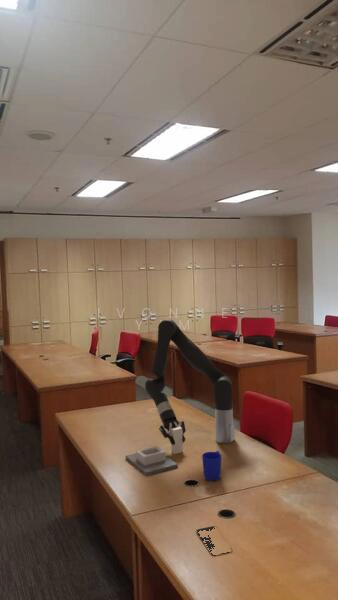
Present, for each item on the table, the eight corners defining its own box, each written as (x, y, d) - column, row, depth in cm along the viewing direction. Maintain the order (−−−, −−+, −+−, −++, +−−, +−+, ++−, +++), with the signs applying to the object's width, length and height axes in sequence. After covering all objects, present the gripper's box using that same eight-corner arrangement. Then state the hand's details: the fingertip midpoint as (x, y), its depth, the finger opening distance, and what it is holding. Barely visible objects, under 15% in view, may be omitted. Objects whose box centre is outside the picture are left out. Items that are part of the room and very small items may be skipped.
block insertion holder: (177, 467, 209) (177, 455, 208) (146, 475, 201) (146, 463, 200) (155, 451, 228) (154, 440, 227) (125, 458, 220) (125, 447, 220)
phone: (211, 555, 142) (194, 529, 156) (212, 558, 142) (195, 532, 157) (233, 550, 144) (215, 525, 159) (233, 553, 144) (215, 527, 159)
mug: (227, 472, 202) (226, 450, 201) (218, 483, 191) (217, 460, 190) (209, 469, 205) (209, 447, 205) (199, 480, 194) (199, 457, 194)
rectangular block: (182, 452, 226) (182, 428, 225) (174, 454, 224) (173, 430, 223) (180, 450, 228) (179, 426, 228) (171, 452, 226) (170, 428, 225)
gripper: (156, 411, 228) (168, 442, 218) (180, 406, 235) (194, 436, 225) (151, 418, 233) (163, 449, 223) (175, 414, 240) (188, 443, 230)
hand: (178, 442), depth 224 cm, fingers closed on rectangular block, 5 cm apart
